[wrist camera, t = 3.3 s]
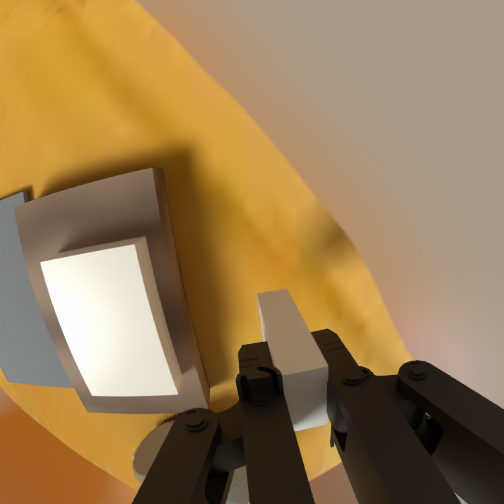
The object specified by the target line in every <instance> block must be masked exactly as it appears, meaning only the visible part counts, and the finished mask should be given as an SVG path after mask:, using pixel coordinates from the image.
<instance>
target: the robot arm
mask: <svg viewBox="0 0 504 504" xmlns="http://www.w3.org/2000/svg"><path fill="white" fill-rule="evenodd" d="M257 300H258V307H259V314H260V321H261V328H262V335H263V341H264V342H259V343H253V344H246V345H242V347H241V349H240V350H239V352H238V358H239V371H240V373H239V374H238V375H237V377H236V386H237V390H238V395H239V401H238V402H237V403H236V404H235V405H234V406H233V407H231V408H229V409H227V410H225V411H222V412H220V413H217V414H216V413H214V412H213V411H211V410H210V409H206V408H192V409H189V410H186V411H184V412H183V413H181V414H179V415H178V417H177V418H176V419H175V421H174V422H173V424H172V426H171V428H170V430H169V432H168V434H167V436H166V438H165V440H164V442H163V444H162V446H161V448H160V450H159V452H158V454H157V456H156V458H155V460H154V462H153V464H152V465H151V467H150V469H149V471H148V473H147V475H146V477H145V479H144V481H143V483H142V485H141V487H140V489H139V491H138V493H137V495H136V497H135V498H134V501H133V502H132V504H226V501H227V497H228V494H229V490H230V486H231V483H232V479H233V475H234V470H235V469H238V468H240V467H243V466H246V473H247V483H248V492H249V502H250V504H315V503H314V499H313V495H312V492H311V488H310V485H309V481H308V478H307V474H306V471H305V467H304V464H303V460H302V456H301V453H300V449H299V446H298V442H297V439H296V435H295V431H300V430H304V429H309V428H313V427H318V426H322V425H326V424H327V417H329V419H330V422H331V438H330V446H331V447H334V443H335V445H336V448H337V450H338V453H339V455H340V458H341V460H342V463H343V465H344V468H345V470H346V473H347V475H348V478H349V480H350V483H351V486H352V488H353V491H354V493H355V495H356V498H357V501H358V503H359V504H461V503H460V501H459V499H458V498H457V496H456V495H455V493H456V494H457V495H458V496H460V497H461V498H462V499H463V500H464V501H465V502H467V503H468V504H504V409H502V408H501V407H499V406H498V405H496V404H494V403H493V402H491V401H489V400H488V399H486V398H485V397H483V396H482V395H480V394H478V393H477V392H475V391H474V390H472V389H470V388H469V387H467V386H466V385H464V384H462V383H461V382H459V381H457V380H456V379H454V378H453V377H451V376H450V375H448V374H446V373H445V372H443V371H442V370H440V369H438V368H437V367H435V366H433V365H432V364H430V363H427V362H425V361H419V360H416V361H410V362H407V363H404V364H403V365H402V366H401V367H400V369H399V371H398V375H387V376H376V375H374V374H373V372H371V371H370V370H369V369H368V368H365V367H362V366H358V364H357V363H356V361H355V360H354V358H353V357H352V355H351V354H350V353H349V351H348V350H347V348H346V347H345V345H344V344H343V342H341V339H340V338H339V336H338V335H337V334H336V333H335V332H333V331H331V330H329V329H324V330H319V331H314V332H310V331H309V329H308V327H307V325H306V323H305V321H304V319H303V318H302V316H301V314H300V312H299V310H298V308H297V306H296V305H295V303H294V301H293V299H292V297H291V295H290V294H289V292H288V290H287V289H282V290H276V291H270V292H264V293H258V294H257ZM426 413H427V414H428V415H430V416H428V415H427V414H426ZM453 491H454V492H455V493H454V492H453Z"/></svg>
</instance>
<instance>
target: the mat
mask: <svg viewBox="0 0 504 504" xmlns="http://www.w3.org/2000/svg"><path fill="white" fill-rule="evenodd" d="M26 202H29V197H28V191H23V192H20V193H18V194H15V195H13V196H10V197H8V198H5V199H3V200H0V367H1V369H2V371H3V373H4V375H5V377H6V379H7V381H8V382H15V383H22V384H31V385H41V386H52V387H67V388H74V387H73V385H72V383H71V381H70V379H69V377H68V375H67V373H66V371H65V369H64V367H63V364H62V362H61V360H60V358H59V356H58V354H57V351H56V349H55V347H54V344H53V342H52V340H51V337H50V335H49V332H48V330H47V327H46V325H45V322H44V320H43V317H42V314H41V311H40V309H39V306H38V303H37V300H36V297H35V294H34V291H33V287H32V284H31V281H30V277H29V274H28V270H27V267H26V263H25V259H24V255H23V251H22V247H21V242H20V238H19V233H18V228H17V223H16V217H15V212H14V207H15V206H18V205H21V204H23V203H26Z"/></svg>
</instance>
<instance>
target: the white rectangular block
mask: <svg viewBox="0 0 504 504" xmlns="http://www.w3.org/2000/svg"><path fill="white" fill-rule="evenodd" d="M40 264H41V267H42V271H43V275H44V278H45V281H46V285H47V288H48V291H49V294H50V298H51V301H52V304H53V306H54V309H55V312H56V315H57V318H58V320H59V323H60V326H61V328H62V331H63V334H64V336H65V339H66V341H67V343H68V346H69V348H70V350H71V353H72V355H73V357H74V360H75V362H76V364H77V366H78V368H79V370H80V373H81V375H82V377H83V379H84V381H85V383H86V385H87V387H88V389H89V391H90V393H91V394H92V396H160V395H178V394H179V388H180V383H181V378H182V373H181V370H180V367H179V364H178V360H177V357H176V354H175V351H174V348H173V344H172V341H171V338H170V334H169V331H168V327H167V324H166V320H165V316H164V313H163V309H162V305H161V301H160V298H159V294H158V290H157V286H156V281H155V277H154V273H153V269H152V264H151V260H150V255H149V251H148V246H147V241H146V236H144V237H138V238H133V239H127V240H122V241H116V242H111V243H106V244H101V245H95V246H90V247H85V248H80V249H75V250H70V251H65V252H61V253H57V254H55V255H53V256H51V257H49V258H47V259H45V260H43V261H41V262H40Z"/></svg>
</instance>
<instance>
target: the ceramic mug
mask: <svg viewBox="0 0 504 504" xmlns="http://www.w3.org/2000/svg"><path fill="white" fill-rule="evenodd" d="M174 421H175V420H173V421H169V422H166V423H163V424H161V425H160V426H158V427H157V428H155V429H154V430H152V431H151V432H150V433H149V434H148V435H147V436H146V438H145V439H144V440H143V441H142V442H141V444H140V446H139V447H138V448H137V449H136V451H135V452H134V454H133V456H132V459H133V472H134V475H135V477H136V478H137V479H138V481H139V482H140V483H141V484H142V483H143V481H144V479H145V477H146V475H147V473H148V471H149V469H150V467H151V465H152V464H153V462H154V460H155V458H156V456H157V454H158V452H159V450H160V448H161V446H162V444H163V442H164V440H165V438H166V436H167V434H168V432H169V430H170V428H171V426H172V424H173V422H174ZM248 503H249V492H248V483H247V473H246V466H243V467H240V468H238V469H235V470H234V475H233V479H232V483H231V486H230V490H229V494H228V497H227V501H226V504H248Z"/></svg>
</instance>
